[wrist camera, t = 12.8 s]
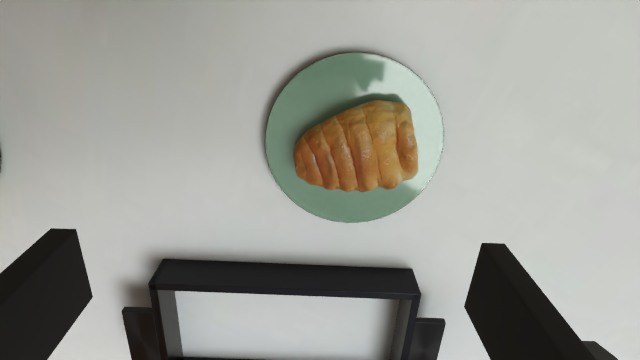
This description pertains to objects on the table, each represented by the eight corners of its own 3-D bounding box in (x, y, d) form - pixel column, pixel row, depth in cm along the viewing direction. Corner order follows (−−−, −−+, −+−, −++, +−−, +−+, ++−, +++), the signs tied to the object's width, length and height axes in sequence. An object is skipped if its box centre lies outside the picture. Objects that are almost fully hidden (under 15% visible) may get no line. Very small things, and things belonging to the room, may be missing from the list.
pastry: (305, 195, 32) (303, 217, 29) (283, 117, 30) (278, 132, 26) (418, 170, 31) (430, 191, 28) (406, 88, 29) (418, 100, 25)
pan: (151, 360, 42) (137, 390, 38) (133, 257, 36) (115, 282, 33) (418, 369, 42) (427, 399, 39) (441, 270, 37) (452, 295, 34)
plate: (267, 213, 34) (265, 219, 33) (266, 46, 28) (264, 47, 27) (424, 220, 34) (427, 226, 34) (455, 56, 29) (460, 58, 28)
